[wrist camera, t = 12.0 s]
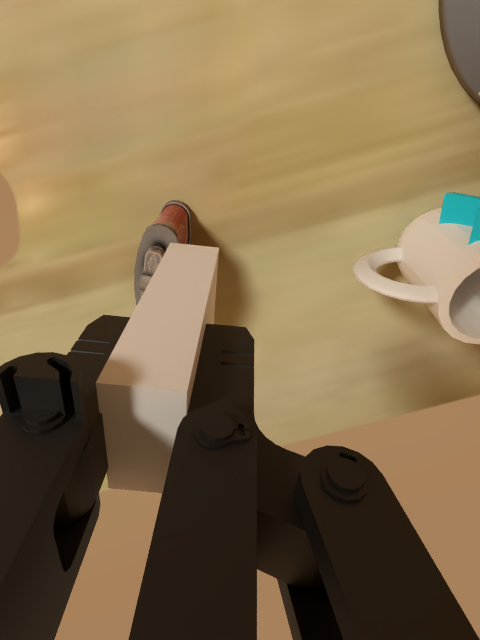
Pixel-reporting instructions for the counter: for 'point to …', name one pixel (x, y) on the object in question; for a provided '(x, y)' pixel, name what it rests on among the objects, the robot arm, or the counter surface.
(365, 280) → the mug
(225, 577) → the robot arm
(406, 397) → the counter surface
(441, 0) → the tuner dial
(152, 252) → the lighter
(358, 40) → the counter surface
